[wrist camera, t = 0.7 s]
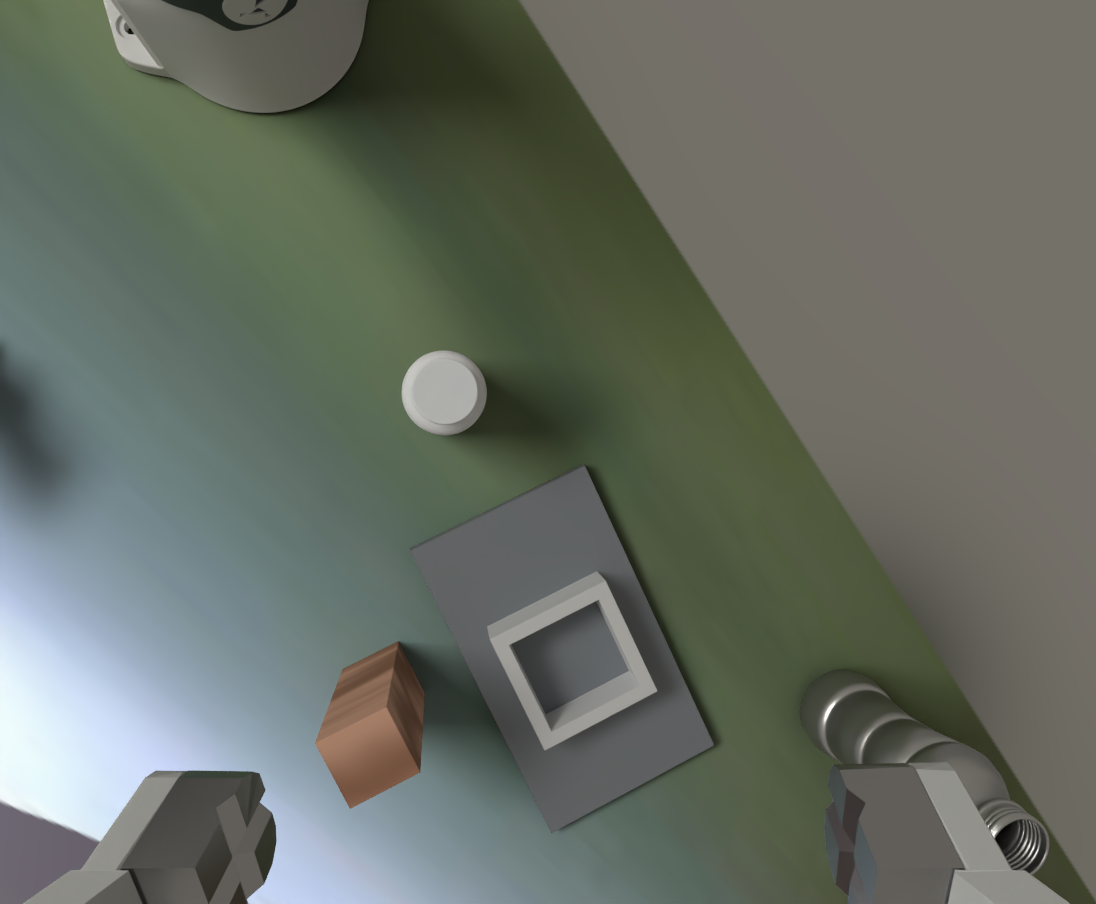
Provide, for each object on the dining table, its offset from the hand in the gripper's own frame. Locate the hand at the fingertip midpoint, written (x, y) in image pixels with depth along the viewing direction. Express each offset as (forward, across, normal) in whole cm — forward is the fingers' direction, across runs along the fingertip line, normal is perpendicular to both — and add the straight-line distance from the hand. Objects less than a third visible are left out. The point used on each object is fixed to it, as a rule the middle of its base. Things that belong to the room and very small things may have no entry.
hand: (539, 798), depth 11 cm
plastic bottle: (+40, -18, +35) cm, 56 cm away
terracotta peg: (+35, +16, +27) cm, 47 cm away
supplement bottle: (+43, +10, +8) cm, 45 cm away
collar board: (+38, +3, +27) cm, 47 cm away
